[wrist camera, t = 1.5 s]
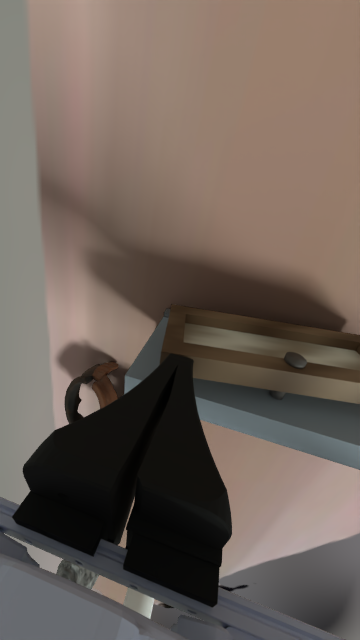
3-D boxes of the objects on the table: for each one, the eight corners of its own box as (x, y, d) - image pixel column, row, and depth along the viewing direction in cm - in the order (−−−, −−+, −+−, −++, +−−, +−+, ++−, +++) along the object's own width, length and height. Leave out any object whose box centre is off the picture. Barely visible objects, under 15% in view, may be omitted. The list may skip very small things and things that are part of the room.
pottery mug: (109, 410, 34) (57, 435, 27) (112, 351, 33) (61, 360, 26) (174, 438, 28) (130, 479, 21) (179, 366, 28) (136, 383, 20)
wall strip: (377, 361, 19) (477, 474, 11) (347, 397, 22) (411, 512, 14) (166, 308, 22) (124, 369, 14) (161, 346, 24) (123, 417, 16)
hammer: (74, 513, 70) (80, 502, 50) (105, 519, 71) (123, 510, 52) (49, 585, 59) (45, 606, 39) (87, 589, 60) (100, 611, 41)
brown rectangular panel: (367, 333, 17) (441, 391, 12) (346, 362, 19) (403, 425, 14) (172, 300, 17) (161, 347, 12) (167, 333, 19) (156, 387, 13)
